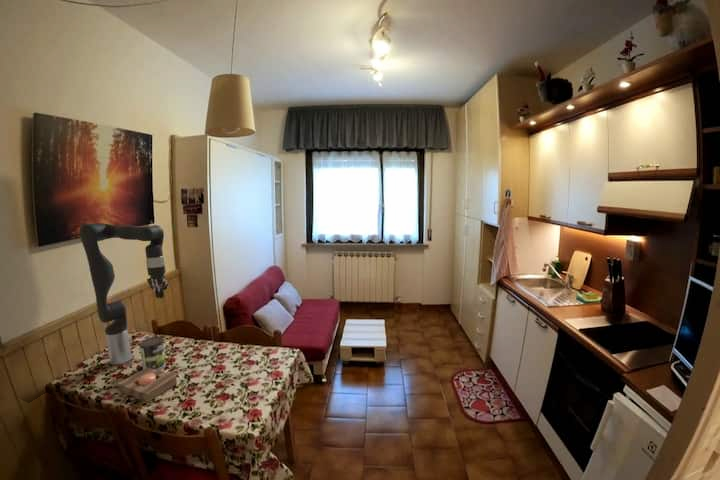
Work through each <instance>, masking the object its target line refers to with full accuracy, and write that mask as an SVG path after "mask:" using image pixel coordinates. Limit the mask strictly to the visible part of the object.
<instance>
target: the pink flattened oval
mask: <svg viewBox="0 0 720 480" xmlns="http://www.w3.org/2000/svg"><path fill="white" fill-rule="evenodd" d="M155 380H156V375H155V374H146V375H144V376H142V377H140V378H139V379H138V383H139V385H140V386H143V387H145V386H147V385H148V384H150V383H152V382H153V381H155Z"/></svg>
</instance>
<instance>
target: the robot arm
mask: <svg viewBox="0 0 720 480" xmlns="http://www.w3.org/2000/svg"><path fill="white" fill-rule="evenodd" d="M79 236H80V240H81V243H82V246H83V248H84V252H85V255H86V259H87V262H88V265H89V266H88V267H89V272H90V276H91V280H92V284H93V285H92V286H93V289H94V294H95V301H96V310H97V314H98V318H99V320H100V321H101V323H104V324H105V323H109V322H112V321H113V322H112V323H110V324H109V325H107V326H106V327H105V329H104V332H105V338H106V343H107V351H108V357H109V362H110V365H112V366H113V365H114V366H116V365H117V366H119V365H122V364H125V363H127V362H129V361H130V360H132V359H133V356H132V355H133V354H132V348H131V342H130V337H129V332H128V331H129V330H128V318H127V317H128V316H127V309H126V304H125V303H124V302H123V300H115V301H111V302H109V303H108V294H109V291H110V289H111V287H112V285H113V283H114V281H115V277H116V276H115V271H114V266H113V264H112V262H111V261H110V260H109V259H108V258H107V257H106V256H105V255H104V254H103V253H102V252H101V249H100V247H99V243H98V242H102V241H105V240H109V239H114V238H115V239H122V240H129V241H135V240H136V241H139V242H141V241H142V242H150V243H149V244H148V245H146V246H145V249H144V250H145V256H146V257H145V258H146V259H145V260H146V261H145V262H146V263H145V264H146V270H147V275H148V276H149V278H146V281H147V283H148V285H149V287H150V288H151V290H153V291H154V293H155V298H157V299H162V298H164V297H165V293H164V291H167V289H168V285H169V282H170V281H169V280H168V279H166V277H165V274H166V263H165V259H164V253H163V244H164V238H165V234H164V230H163V228H162V227H161V226H160V225H157V224H155V225H149V226H140V225H113V224H108V223H102V222H93V223H85V224H82V225H81V226H80V228H79Z"/></svg>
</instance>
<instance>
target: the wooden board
mask: <svg viewBox="0 0 720 480" xmlns="http://www.w3.org/2000/svg"><path fill="white" fill-rule="evenodd" d="M146 374H155V375H156V380H155V381H153V382H152V383H150V384H148V385H147V386H145V387H143V386H140V385H139V383H138V379H139V378H140V377H142V376H144V375H146ZM176 384H177V375H175V374H171V373H167V372H165V371H161V370H160V369H158V370H156V369H152V368H149V367H147V368H145V369H143V368H142V369H141V370H138V371H137V372H136V373H134V374H131V376H128V377H127V378H125V379H123V380H121V381H119V382H117V389H118V392H120V393H122V394H124V395H127V396H130V397H133V398H136V399H139V400H141V401H143V402H145V403H149V402H151V401H152V400H154V399H155V398H157V397H158V396H160V395H161V394H163V393H165V392H166V391H167V390H169V389H170V388H172V387H173V386H175V385H176Z"/></svg>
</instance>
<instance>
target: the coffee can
mask: <svg viewBox="0 0 720 480" xmlns="http://www.w3.org/2000/svg"><path fill="white" fill-rule="evenodd" d="M138 345H139V346H138V347H139V349H140V356H141V357H140V358H141V363H142V364H141V365H142V370H143V369H145V368H147V367H149V368H152V369H156V370H160V369H162V368H164V366H166V364H167V363H166V355H165V348H164V338H163V337H161V336H154V337H153V336H152V337H148V338H146V339H144V340H141V341H140V343H139V344H138Z"/></svg>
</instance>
